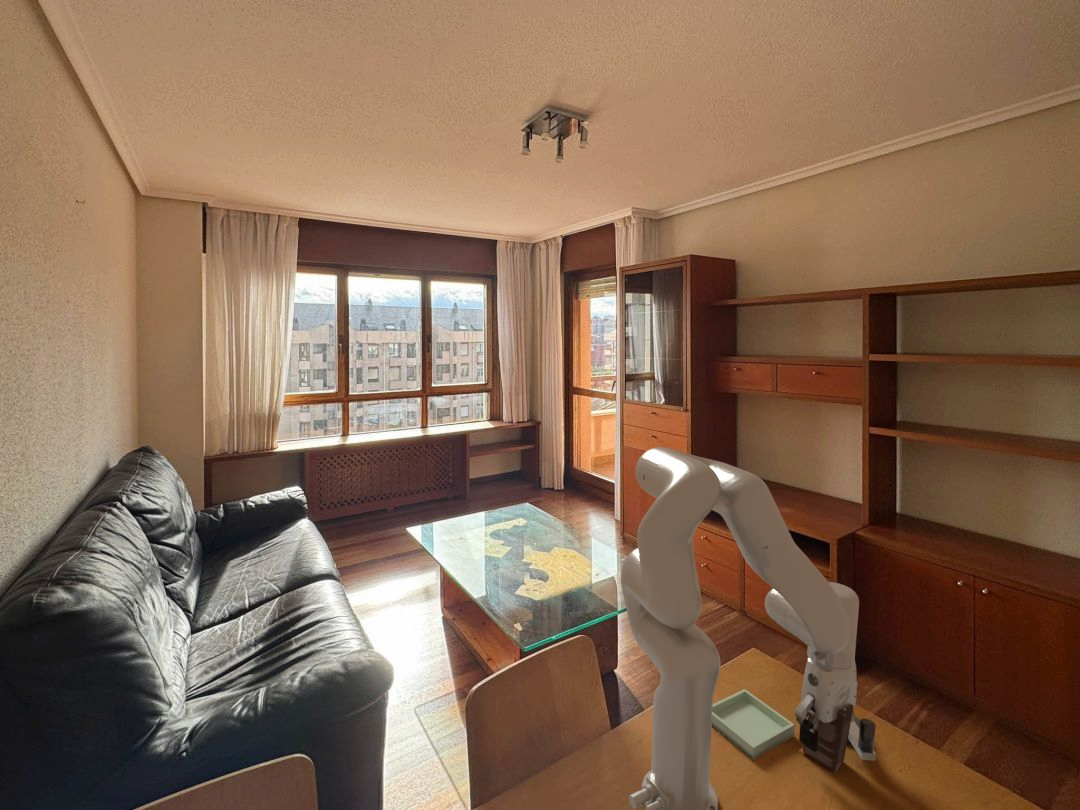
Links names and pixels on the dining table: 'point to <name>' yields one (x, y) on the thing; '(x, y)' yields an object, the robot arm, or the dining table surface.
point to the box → (832, 739)
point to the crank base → (847, 740)
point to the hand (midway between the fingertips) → (824, 736)
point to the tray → (750, 723)
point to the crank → (863, 738)
